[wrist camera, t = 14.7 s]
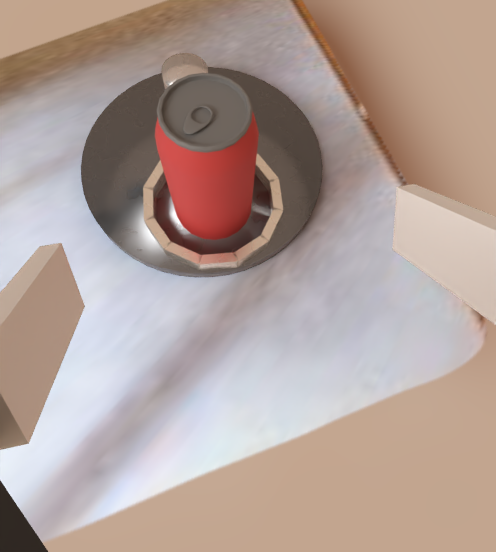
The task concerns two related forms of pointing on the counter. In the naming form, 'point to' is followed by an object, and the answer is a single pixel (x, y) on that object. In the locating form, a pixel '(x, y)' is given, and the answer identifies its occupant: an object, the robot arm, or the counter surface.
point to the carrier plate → (155, 192)
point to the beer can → (208, 153)
